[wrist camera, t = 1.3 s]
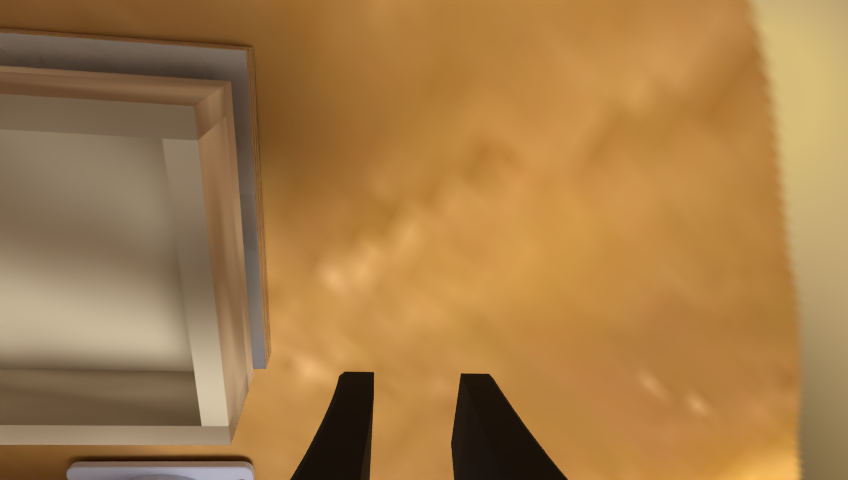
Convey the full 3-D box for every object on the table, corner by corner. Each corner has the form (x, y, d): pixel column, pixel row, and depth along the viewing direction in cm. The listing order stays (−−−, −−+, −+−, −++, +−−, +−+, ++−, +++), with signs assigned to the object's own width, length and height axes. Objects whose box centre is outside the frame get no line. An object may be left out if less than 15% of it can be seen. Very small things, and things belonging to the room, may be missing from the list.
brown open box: (258, 359, 20) (230, 445, 17) (-39, 354, 19) (-141, 445, 16) (238, 75, 16) (194, 106, 12) (-153, 49, 15) (-336, 72, 11)
